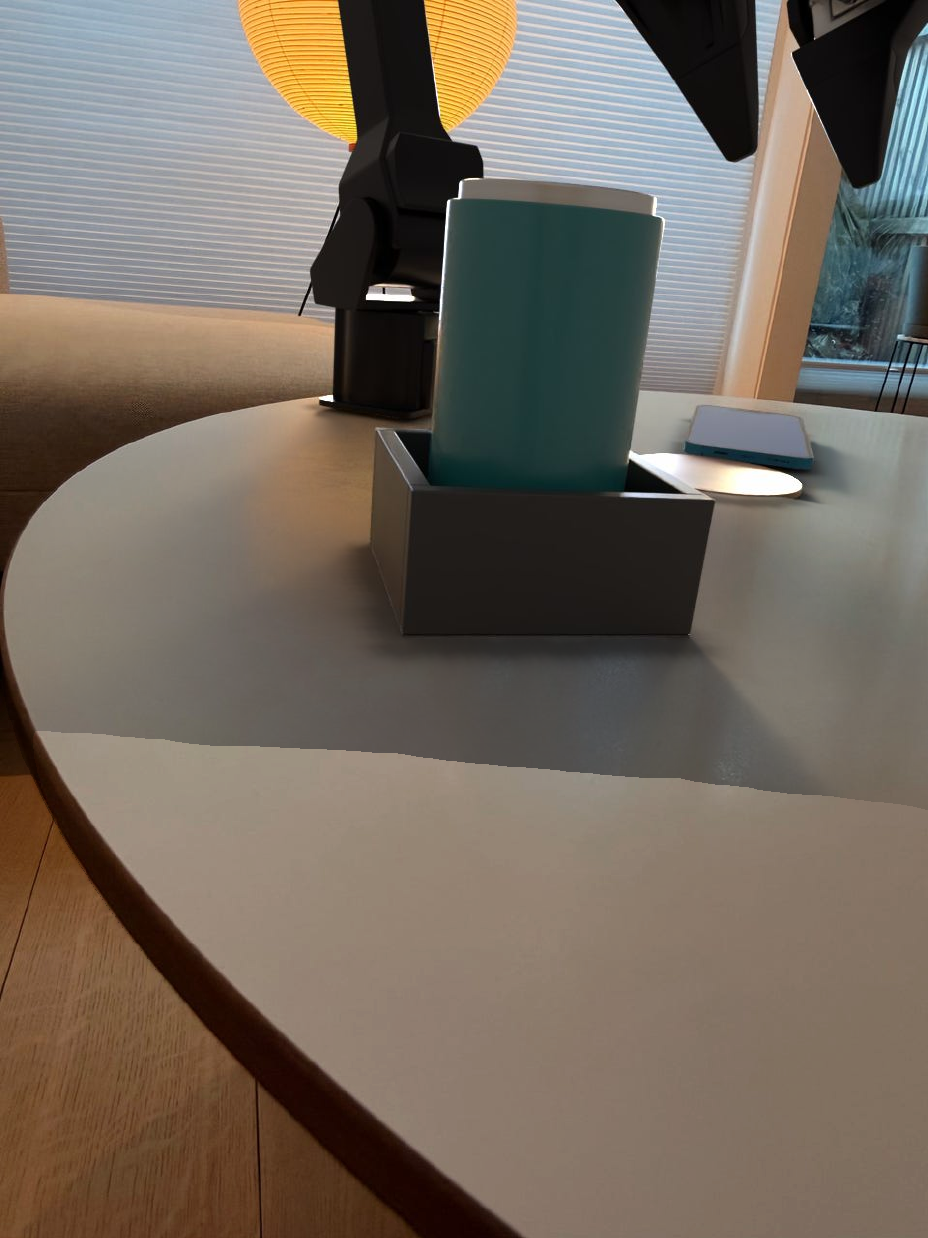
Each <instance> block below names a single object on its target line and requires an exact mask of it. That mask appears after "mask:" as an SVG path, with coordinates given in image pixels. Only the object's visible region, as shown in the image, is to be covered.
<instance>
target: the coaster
mask: <svg viewBox="0 0 928 1238" xmlns="http://www.w3.org/2000/svg"><path fill="white" fill-rule="evenodd" d="M640 456H641V457H643V458H644V459H646V460H648V461H649V462H651V463H653V464H654V465H656V466H658V467H659V468H661V469H663V470H664V471H666V472H668V473H669V474H671V475H673V476H674V477H676V478H678V479H679V480H681V481H683V482H684V483H686V484H688V485H689V486H691V487H693V488H694V489H696V490H698V491H700V492H702V491H703V492H708V493H715V494H725V495H734V496H748V497H749V496H750V497H779V498H785V499H790V500H796V499H797V498H799V497H800V496H801V494H802V490H803V484H802V483H801V482H800V481H799V480H798V479H796V478H794V477H793V476H791V475H789V474H787V473H784V472H782V471H779V470H776V469H773V468H769V467H767V466H762V465H759V464H755V463H749V462H741V461H735V460H729V459H722V458H716V457H707V456H698V455H692V454H687V453H686V454H685V453H651V454H641V455H640Z"/></svg>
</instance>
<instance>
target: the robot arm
mask: <svg viewBox="0 0 928 1238" xmlns="http://www.w3.org/2000/svg"><path fill="white" fill-rule="evenodd" d="M614 2H615V3H616V4H617V5H618V7H619V8H620V9H621V11H622V12H623V13H624V15H625V16H626V17H627V19H628V20H629V22H630V23H631V24H632V25H633V27H634V28H635V29H636V31H637V32H638V34H639V35H640V36H641V38H642V39H643V40H644V42H645V43H646V44H647V46H648V47H649V48H650V50H651V51H652V52H653V54H654V55H655V56H656V58H657V60H658V61H659V62H660V63H661V65H662V66H663V68H664V69H665V71H666V72H667V74H668V76H669V77H670V79H671V80H672V82H674V83H675V85H676V87H677V88H678V90H679V91H680V92H681V95H682V96H683V97H684V99H685V100H686V102H687V103H688V105H689V106H690V109H692V111H693V112H694V114H695V115H696V117H697V118H698V120H699V121H700V123H701V124H702V126H703V127H704V129H705V130H706V132H707V134H708V135H709V136H710V138H711V140H712V141H713V143H714V144H715V146H716V147H717V149H718V150H719V152H720V153H721V155H722V156H723V157H724V159H725V160H726V161H727V162H729V163H734V164H737V163H738V162H741V161H743V160H745V159H747V158H750V157H752V156H754V154H755V153H756V152H757V150H758V147H759V121H760V120H759V119H760V96H759V95H760V94H759V91H760V90H759V68H758V67H759V66H758V37H757V8H756V0H614ZM337 4H338V5H337V6H338V11H339V18H340V25H341V31H342V32H341V33H342V38H343V47H344V53H345V59H346V67H347V73H348V74H347V75H348V80H349V86H350V87H349V88H350V93H351V94H350V95H351V100H352V107H353V114H354V120H355V122H354V123H355V128H356V141H355V144H354V146H353V148H352V151H351V154H350V155H349V158H348V161H347V163H346V166H345V168H344V171H343V173H342V175H341V178H340V179H339V184H338V205H339V217H338V218H337V220H336V222H335V224H334V225H333V227H332V228H331V231H330V232H329V235H328V236H327V238H326V239H325V241H324V243H323V245H322V247H321V248H320V250H319V252H318V254H317V255H316V257H315V259H314V261H313V262H312V264H311V265H310V268H309V277H310V282H311V289H312V296H313V302H314V304H315V305H318V306H323V307H329V308H334V333H333V334H334V335H333V361H332V362H333V363H332V365H333V367H332V394H331V395H327V396H322V397H319V398H318V406H321V407H326V408H332V409H337V410H344V411H350V412H355V413H362V414H369V415H375V416H380V417H385V418H393V419H398V420H413V419H417V418H420V417H425V416H427V415H432V412H433V398H434V384H435V370H436V356H437V342H438V327H439V313H440V299H441V285H442V271H443V257H444V243H445V228H446V214H447V202H448V200H449V199H454V198H459V186H460V182H461V180H465V179H475V178H485V171H484V167H485V165H484V159H483V157H482V154H481V151H480V148H479V147H478V145H475V144H470V143H466V142H461V141H460V142H459V141H453V140H452V137H451V136H450V135H449V133H448V132H447V130H446V129H445V128H444V127H445V126H444V125H443V123H442V120H441V114H440V113H441V112H440V106H439V98H438V92H437V84H436V78H435V70H434V62H433V56H432V47H431V40H430V33H429V26H428V18H427V12H426V11H427V10H426V3H425V0H337ZM786 11H787V21H788V28H789V30H790V32H791V34H792V36H793V38H794V40H795V41H796V43H797V45H798V47H799V48H797V49H795V50H793V51H791V53H790V56H791V59H792V61H793V64H794V66H795V68H796V70H797V72H798V74H799V77H800V79H801V81H802V83H803V86H804V88H805V90H806V92H807V94H808V96H809V98H810V101H811V103H812V105H813V108H814V110H815V112H816V114H817V116H818V119H819V120H820V123H821V125H822V128H823V130H824V133H825V134H826V137H827V139H828V141H829V143H830V146H831V148H832V150H833V152H834V154H835V156H836V159H837V161H838V163H839V165H840V166H841V169H842V170H843V172H844V174H845V176H846V178H847V180H848V182H849V184H850V186H851V187H852V188H853V189H855V190H862V189H864V188H868V187H870V186H872V185H875V184H877V183H878V182H879V181H880V180H881V178H882V176H883V171H884V165H885V160H886V155H887V151H888V150H887V149H888V145H889V142H890V141H889V140H890V135H891V130H892V126H893V121H894V115H895V110H896V105H897V100H898V96H899V91H900V86H901V81H902V77H903V73H904V69H905V66H906V62H907V58H908V55H909V51H910V49H911V47H912V46H913V43H914V42H915V41H916V39H917V38H918V37H919V35H920V34H921V33H922V31H923V30H924V29H925V27H926V26H927V25H928V0H787V1H786ZM370 288H386V289H387V288H388V289H406V290H411V292H412V296H411V295H390V294H369V290H370Z"/></svg>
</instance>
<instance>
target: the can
mask: <svg viewBox="0 0 928 1238" xmlns="http://www.w3.org/2000/svg"><path fill="white" fill-rule="evenodd" d="M657 202H658V201H657V197H656V196H655V195H653V194H648V193H646V192H645V193H644V192H640V191H633V190H628V189H621V188H614V187H605V186H599V185H598V186H597V185H589V184H580V183H569V182H558V181H546V180H531V179H515V178H491V177H490V178H489V177H487V178H485V177H484V178H475V179H465V180H461V182H460V186H459V198H454V199H449V200H448V202H447V214H446V228H445V243H444V257H443V271H442V285H441V299H440V312H438V313H439V327H438V342H437V356H436V370H435V384H434V398H433V412H432V413H431V427H430V430H431V441H430V455H429V469H428V483H429V484H430V486H453V487H483V488H512V489H542V490H571V491H601V492H624V489H625V483H626V476H627V469H628V463H629V456H630V450H632V449H631V448H632V442H633V435H634V429H635V423H636V415H637V410H638V409H637V408H638V403H639V395H640V389H641V384H642V383H641V382H642V377H643V369H644V364H645V363H644V362H645V356H646V350H647V344H648V343H647V342H648V338H649V330H650V323H651V317H652V309H653V302H654V295H655V290H656V284H657V278H658V277H657V276H658V270H659V263H660V256H661V249H662V244H663V243H662V242H663V237H664V230H665V223H666V220H665V217H662V216H659V215H656V210H657V209H656V208H657Z"/></svg>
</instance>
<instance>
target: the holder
mask: <svg viewBox="0 0 928 1238" xmlns="http://www.w3.org/2000/svg"><path fill="white" fill-rule="evenodd" d="M430 441H431V429H424V428H421V429H420V428H402V427H380V426H379V427H378V426H377V427H375V428H374V441H373V442H374V444H373V462H372V463H373V466H372V482H371V483H372V484H371V485H372V487H371V506H370V524H369V545H370V548H371V552H372V554H373V557H374V560H375V562H376V563H375V564H376V565H377V568H378V571H379V574H380V577H381V580H382V583H383V585H384V588H385V592H386V594H387V597H388V600H389V603H390V606H391V609H392V611H393V612H392V613H393V614H394V617H395V619H396V620H395V621H396V624H397V626H398V628H399V632H400V634H401V637H403V638H534V637H535V638H602V637H603V638H612V637H613V638H630V637H631V638H638V637H639V638H642V637H643V638H646V637H647V638H649V637H650V638H652V637H653V638H655V637H656V638H657V637H658V638H659V637H660V638H661V637H662V638H666V637H667V638H671V637H672V638H675V637H678V638H679V637H680V638H681V637H682V638H684V637H688V638H690V637H691V636H690V635H691V632H692V626H693V621H694V617H695V610H696V605H697V599H698V595H699V589H700V584H701V579H702V573H703V568H704V563H705V558H706V552H707V547H708V542H709V541H708V540H709V536H710V530H711V525H712V521H713V515H714V510H715V504H716V500H715V499H713V498H712V497H710V496H708V495H707V494H705V493H703V492H702V491H700V490H696V489H694V488H693V487H691V486H689V485H688V484H686V483H684V482H683V481H681V480H679V479H678V478H676V477H674V476H673V475H671V474H669V473H668V472H666V471H664V470H663V469H661V468H659V467H658V466H656V465H654V464H653V463H651V462H649V461H648V460H646V459H644V458H643V457H641V455H639V454H638V453H636V452H634V451H632V449H630V456H629V463H628V469H627V476H626V483H625V489H624V492H601V491H571V490H542V489H512V488H483V487H453V486H430V484H429V483H428V469H429V455H430Z"/></svg>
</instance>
